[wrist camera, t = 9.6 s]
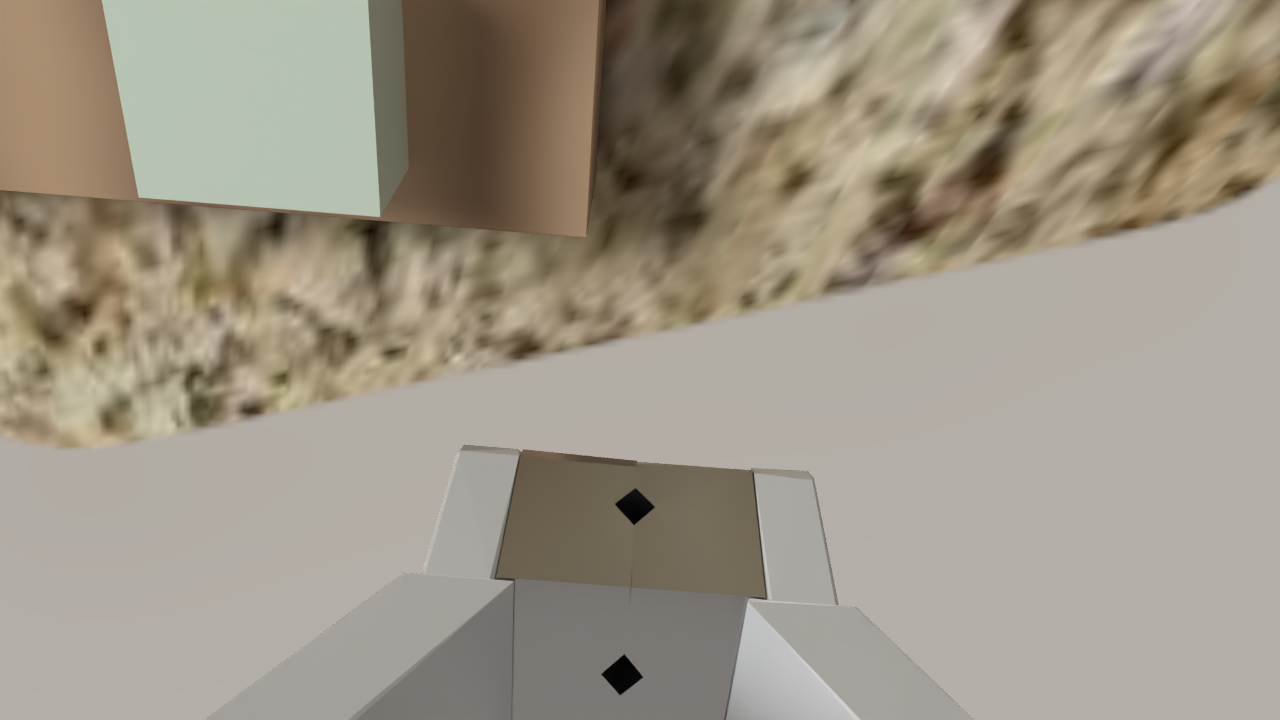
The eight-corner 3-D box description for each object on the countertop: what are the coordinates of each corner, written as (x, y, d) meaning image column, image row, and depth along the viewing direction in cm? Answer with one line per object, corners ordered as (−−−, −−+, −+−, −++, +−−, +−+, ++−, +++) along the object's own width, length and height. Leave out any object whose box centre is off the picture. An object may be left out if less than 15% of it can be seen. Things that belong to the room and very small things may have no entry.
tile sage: (399, -62, 19) (365, -35, 17) (408, 167, 22) (380, 216, 20) (154, -83, 19) (90, -58, 17) (190, 150, 22) (138, 197, 19)
